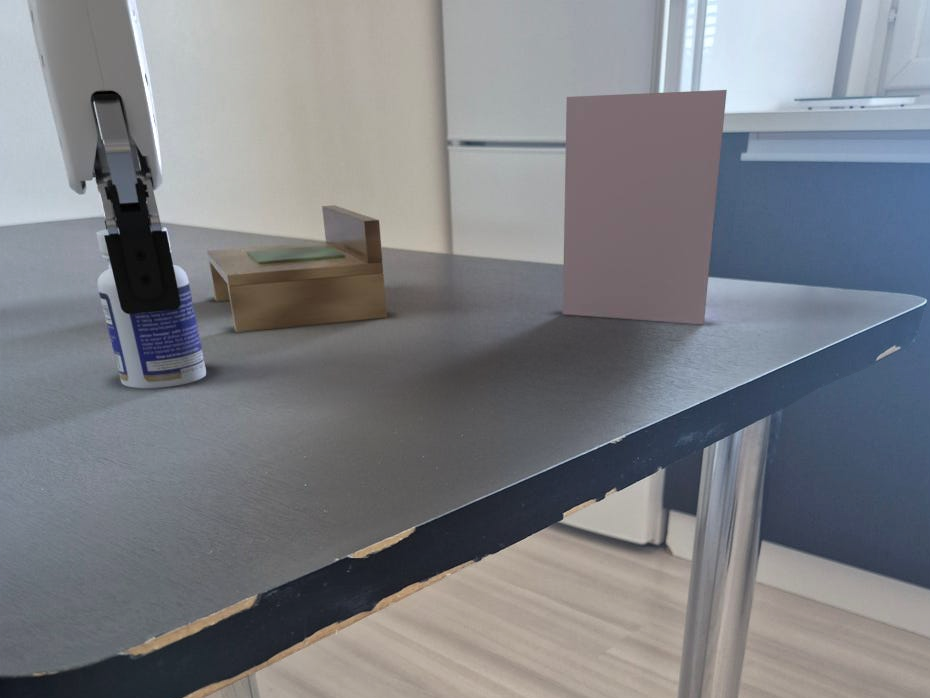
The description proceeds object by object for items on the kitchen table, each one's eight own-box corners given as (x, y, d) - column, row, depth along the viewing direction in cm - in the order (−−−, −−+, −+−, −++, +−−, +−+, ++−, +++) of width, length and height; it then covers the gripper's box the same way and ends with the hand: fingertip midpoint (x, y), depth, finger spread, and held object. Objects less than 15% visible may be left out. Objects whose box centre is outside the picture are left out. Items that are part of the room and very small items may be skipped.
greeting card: (712, 326, 65) (737, 89, 57) (630, 338, 62) (644, 91, 55) (625, 303, 74) (636, 95, 66) (549, 313, 71) (551, 97, 64)
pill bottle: (222, 372, 57) (196, 224, 53) (178, 394, 53) (145, 234, 48) (152, 369, 59) (120, 224, 54) (103, 390, 54) (64, 234, 50)
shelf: (237, 336, 67) (219, 230, 63) (215, 302, 80) (200, 213, 76) (387, 320, 71) (379, 220, 67) (343, 291, 84) (334, 205, 80)
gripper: (7, -32, 50) (86, 284, 59) (-31, -97, 36) (79, 330, 45) (143, -31, 52) (199, 274, 61) (156, -92, 38) (227, 315, 47)
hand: (148, 297), depth 53 cm, fingers open, 9 cm apart
